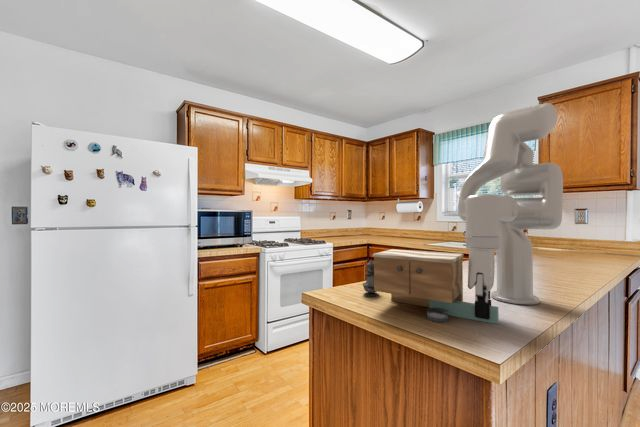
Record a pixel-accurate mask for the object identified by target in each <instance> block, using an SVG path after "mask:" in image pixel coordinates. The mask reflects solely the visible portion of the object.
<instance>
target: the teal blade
mask: <svg viewBox="0 0 640 427" xmlns="http://www.w3.org/2000/svg"><path fill="white" fill-rule="evenodd" d="M429 308H442V309H445V310H447V311H448V316H451V317H457V318H463V319H467V320H473V321H479V322H484V323H489V324H497V325H498V324H499V313H500V312H499V306H493V305H491V306H490V319H482V318H477V317H475V302H474V303H473V302H468V301H463V302H462V301H455V300H454V301H453V302H452V303H448V302H442V301H435V300H430V307H429Z"/></svg>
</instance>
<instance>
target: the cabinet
mask: <svg viewBox="0 0 640 427" xmlns="http://www.w3.org/2000/svg"><path fill="white" fill-rule="evenodd" d="M464 255H465V254H464V253H460V252H443V251H431V250H430V251H428V250H413V249H411V250H410V249H397V248H396V249H395V248H391V249H387V250H384V251H379V252H374V253H372V258H373V262H374V291H377V293H378V292H379V293H385V294H390V295H391V296H390V302H391V301H392V302H396V303H403V304H409V305H413V306H420V307H424V308H425V307H427V308H430V300H435V301H442V302H448V303H452V302H453V301H454V300H455V301H462V302H464V298H463V297H464V292H463V291H464V288H463V286H464V285H463V284H464V281H463V278H464V276H463V258H464V257H465V256H464Z"/></svg>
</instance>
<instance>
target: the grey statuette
mask: <svg viewBox="0 0 640 427" xmlns="http://www.w3.org/2000/svg"><path fill="white" fill-rule="evenodd" d="M365 274H366V281H365V282H363V283H362V286H363V290H364V291H365V292H364V293H363V294H362V295H363V296H364V297H365V298H378V297H380V294H379V293H378V291H374V261H373V260H372V259H370V260H369V262H367V263H366V272H365Z"/></svg>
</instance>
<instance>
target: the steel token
mask: <svg viewBox="0 0 640 427" xmlns="http://www.w3.org/2000/svg"><path fill="white" fill-rule="evenodd" d="M426 319H427V321H430V322H431V321H432V323H438V324H445V323H448V322H449V315H448V311H447V310H445V309H442V308H430V307H427V309H426Z"/></svg>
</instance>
